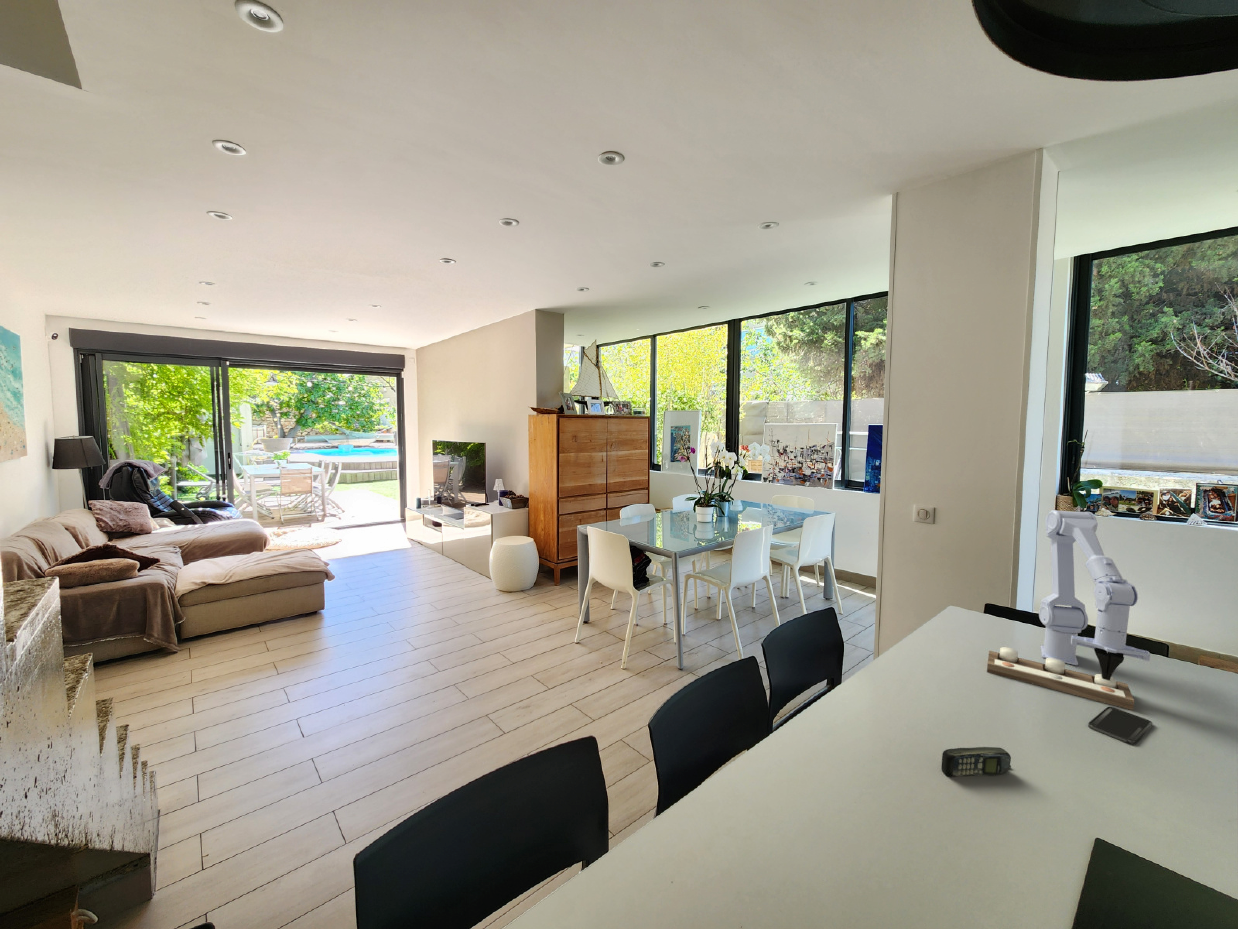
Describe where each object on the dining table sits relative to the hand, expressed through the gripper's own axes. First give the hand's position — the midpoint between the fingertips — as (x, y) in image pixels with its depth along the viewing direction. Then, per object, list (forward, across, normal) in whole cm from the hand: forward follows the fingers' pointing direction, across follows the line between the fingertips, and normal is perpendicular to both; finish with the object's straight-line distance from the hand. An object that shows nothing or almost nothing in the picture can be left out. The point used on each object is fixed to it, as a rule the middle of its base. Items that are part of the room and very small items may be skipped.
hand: (1105, 678), depth 131 cm
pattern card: (+1, -10, -5) cm, 11 cm away
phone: (+4, +1, -18) cm, 19 cm away
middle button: (+1, -10, 0) cm, 10 cm away
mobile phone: (+4, -24, -58) cm, 63 cm away
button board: (+4, -10, -2) cm, 11 cm away
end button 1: (+2, 0, 0) cm, 2 cm away
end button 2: (+1, -20, 0) cm, 20 cm away
